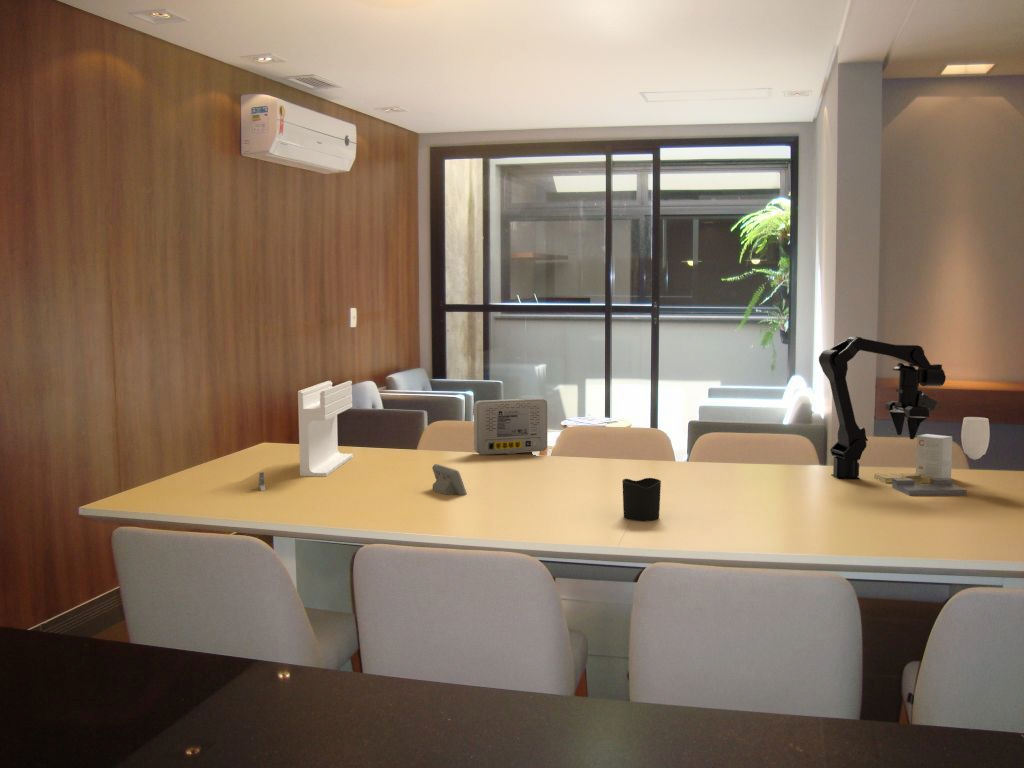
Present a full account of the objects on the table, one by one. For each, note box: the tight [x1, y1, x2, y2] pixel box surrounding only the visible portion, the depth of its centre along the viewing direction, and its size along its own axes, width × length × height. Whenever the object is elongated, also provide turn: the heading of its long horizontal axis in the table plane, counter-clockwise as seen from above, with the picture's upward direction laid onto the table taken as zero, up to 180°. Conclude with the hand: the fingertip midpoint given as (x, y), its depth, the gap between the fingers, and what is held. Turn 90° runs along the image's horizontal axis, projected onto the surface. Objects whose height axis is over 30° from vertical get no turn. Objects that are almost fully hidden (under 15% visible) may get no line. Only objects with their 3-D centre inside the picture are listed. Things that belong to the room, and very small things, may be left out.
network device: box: [473, 397, 548, 456], centre depth 329 cm, size 26×9×20 cm, turn 108°
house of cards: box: [250, 471, 267, 492], centre depth 263 cm, size 9×9×8 cm
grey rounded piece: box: [960, 416, 991, 460], centre depth 268 cm, size 7×7×21 cm
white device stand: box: [297, 380, 354, 477], centre depth 300 cm, size 35×8×28 cm, turn 176°
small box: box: [915, 433, 953, 479], centre depth 287 cm, size 8×6×13 cm
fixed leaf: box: [891, 478, 968, 497], centre depth 266 cm, size 16×11×3 cm
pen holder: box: [622, 477, 662, 522], centre depth 235 cm, size 9×9×10 cm
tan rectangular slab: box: [873, 472, 932, 485], centre depth 281 cm, size 14×11×3 cm
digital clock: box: [432, 463, 468, 496], centre depth 262 cm, size 14×8×9 cm, turn 20°
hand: (905, 437), depth 289 cm, fingers open, 9 cm apart
